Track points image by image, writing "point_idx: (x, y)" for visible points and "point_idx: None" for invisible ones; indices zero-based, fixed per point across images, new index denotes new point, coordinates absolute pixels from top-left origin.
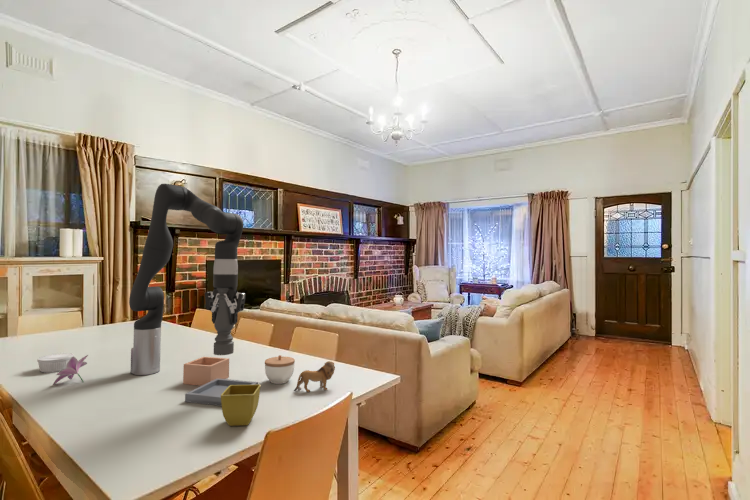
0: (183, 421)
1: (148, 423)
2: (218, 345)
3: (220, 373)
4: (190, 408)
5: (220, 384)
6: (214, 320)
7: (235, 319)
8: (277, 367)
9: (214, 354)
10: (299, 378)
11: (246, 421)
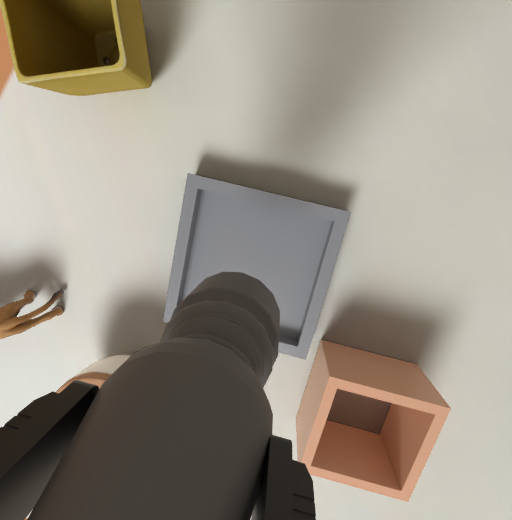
0: (284, 57)
1: (382, 34)
2: (230, 286)
3: (309, 398)
4: (306, 158)
5: (287, 335)
6: (272, 459)
7: (13, 423)
8: (95, 371)
9: (265, 286)
10: (27, 314)
11: (86, 18)
